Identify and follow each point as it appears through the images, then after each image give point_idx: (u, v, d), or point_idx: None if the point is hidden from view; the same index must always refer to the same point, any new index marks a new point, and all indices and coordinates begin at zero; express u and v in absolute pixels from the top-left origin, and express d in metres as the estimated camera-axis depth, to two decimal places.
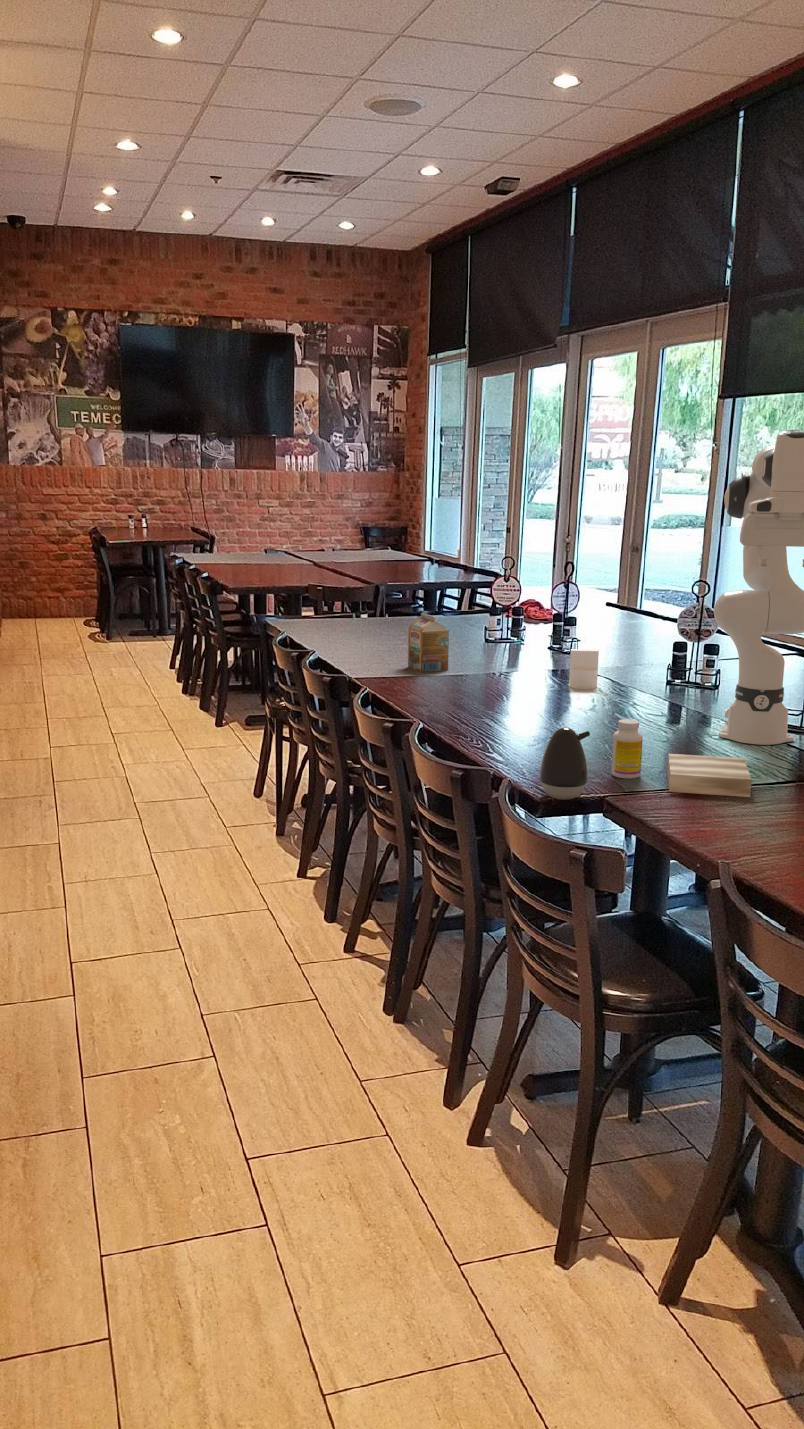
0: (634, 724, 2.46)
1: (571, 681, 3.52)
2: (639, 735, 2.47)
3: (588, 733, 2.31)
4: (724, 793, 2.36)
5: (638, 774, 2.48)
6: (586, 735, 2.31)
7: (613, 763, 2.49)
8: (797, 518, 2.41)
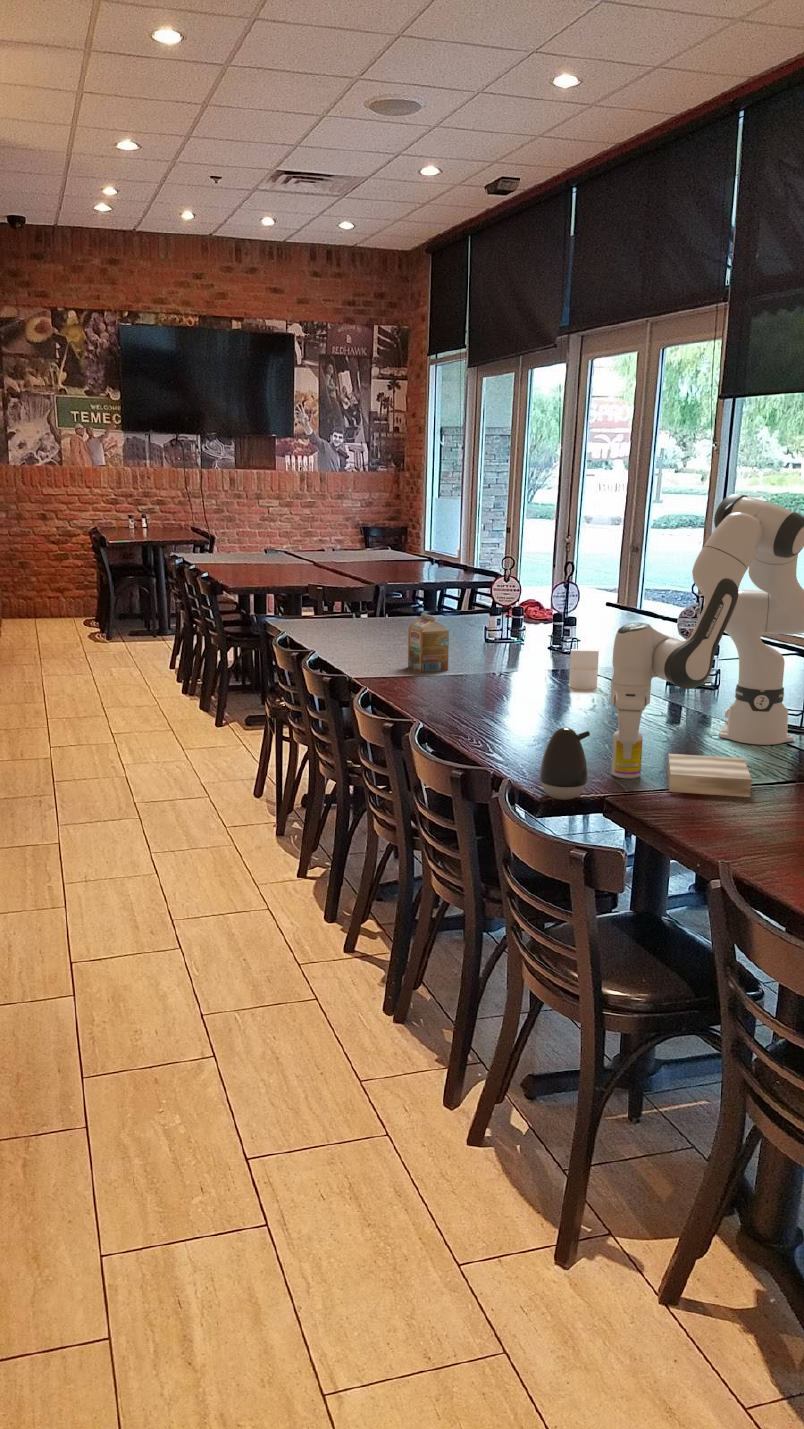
0: None
1: (571, 681, 3.52)
2: (639, 735, 2.47)
3: (588, 733, 2.31)
4: (724, 793, 2.36)
5: (638, 774, 2.48)
6: (586, 735, 2.31)
7: (613, 763, 2.49)
8: None
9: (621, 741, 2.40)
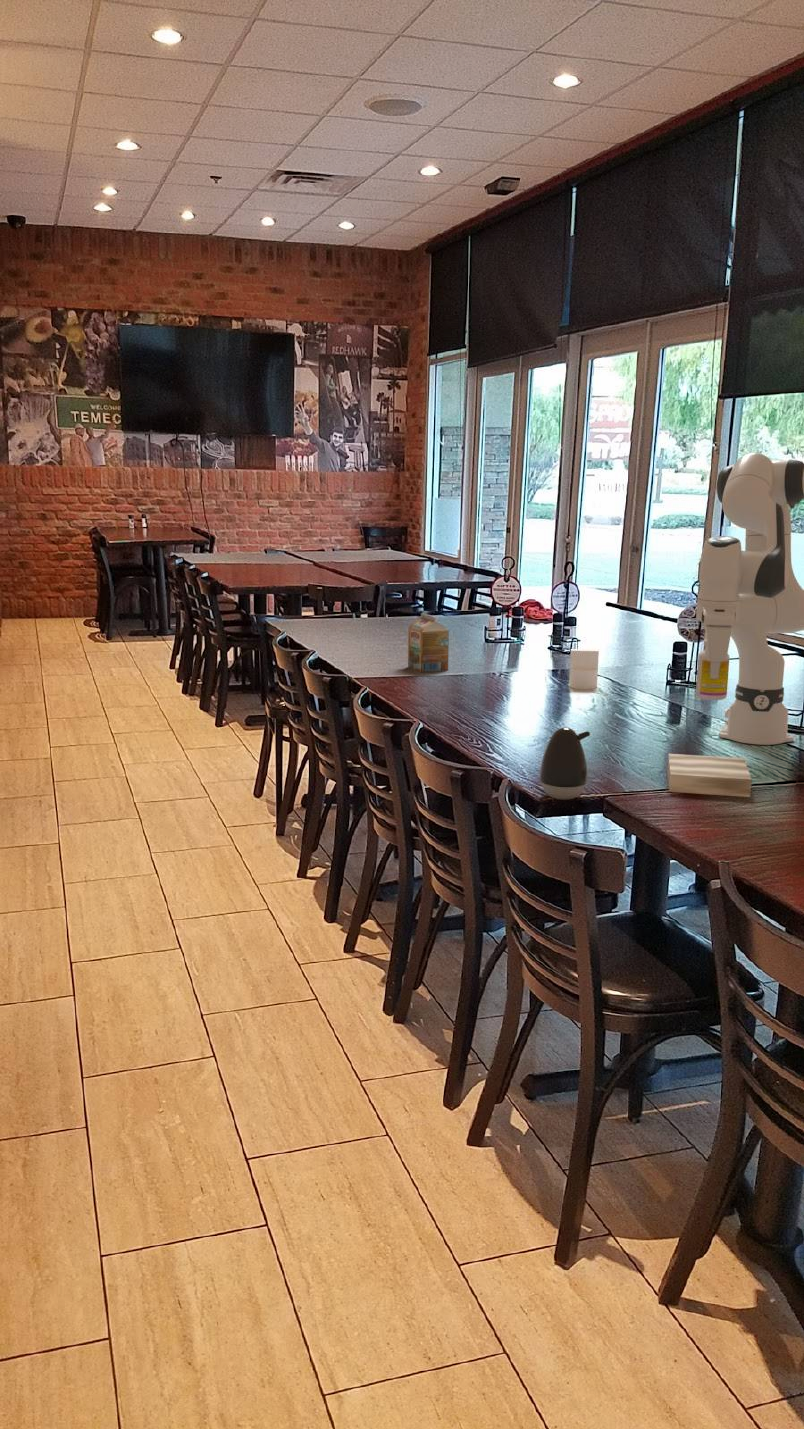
0: None
1: (571, 681, 3.52)
2: None
3: (588, 733, 2.31)
4: (724, 793, 2.36)
5: (724, 695, 2.39)
6: (586, 735, 2.31)
7: (698, 684, 2.40)
8: None
9: (710, 658, 2.30)
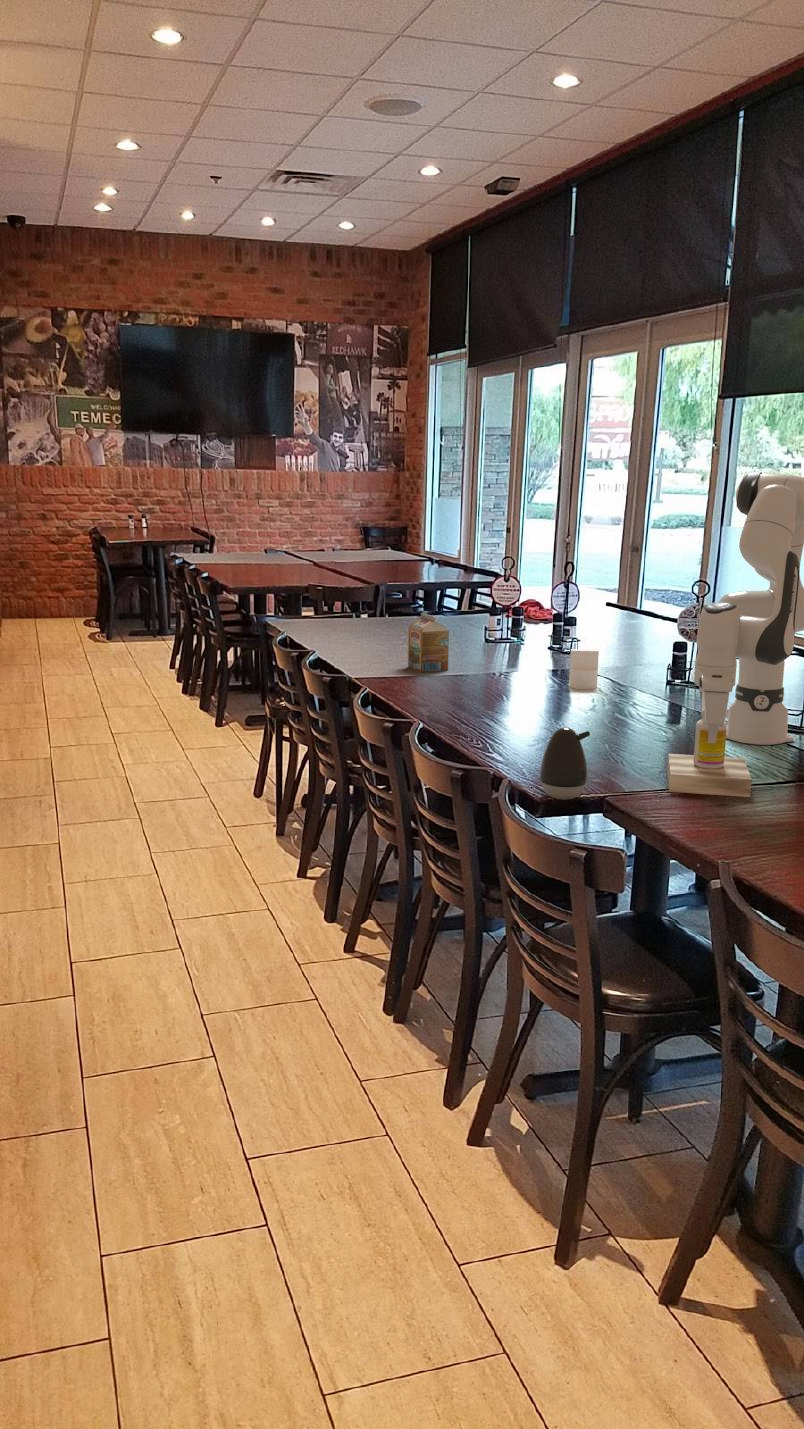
0: None
1: (571, 681, 3.52)
2: (723, 724, 2.41)
3: (588, 733, 2.31)
4: (724, 793, 2.36)
5: (722, 764, 2.42)
6: (586, 735, 2.31)
7: (696, 753, 2.43)
8: None
9: (708, 723, 2.33)
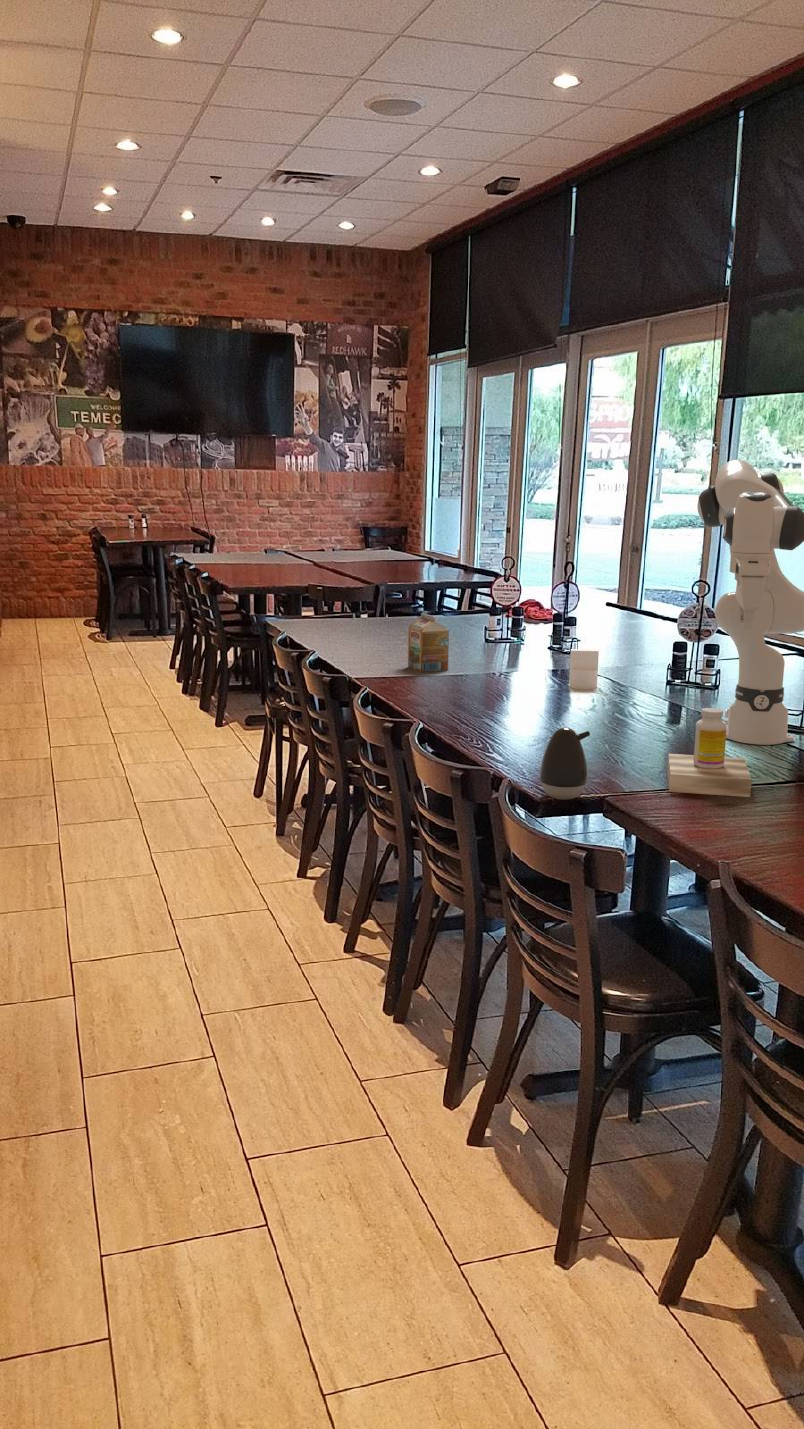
0: (718, 713, 2.40)
1: (571, 681, 3.52)
2: (723, 724, 2.41)
3: (588, 733, 2.31)
4: (724, 793, 2.36)
5: (722, 764, 2.42)
6: (586, 735, 2.31)
7: (696, 753, 2.43)
8: None
9: (744, 607, 2.40)
